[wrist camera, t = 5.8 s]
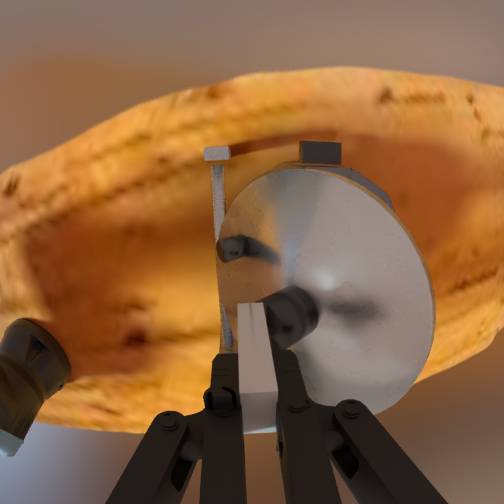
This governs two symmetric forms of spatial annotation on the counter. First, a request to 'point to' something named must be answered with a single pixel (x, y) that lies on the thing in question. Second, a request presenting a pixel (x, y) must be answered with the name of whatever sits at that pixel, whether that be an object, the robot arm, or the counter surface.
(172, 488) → the robot arm
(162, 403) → the counter surface
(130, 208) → the counter surface
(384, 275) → the lid
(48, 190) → the counter surface
